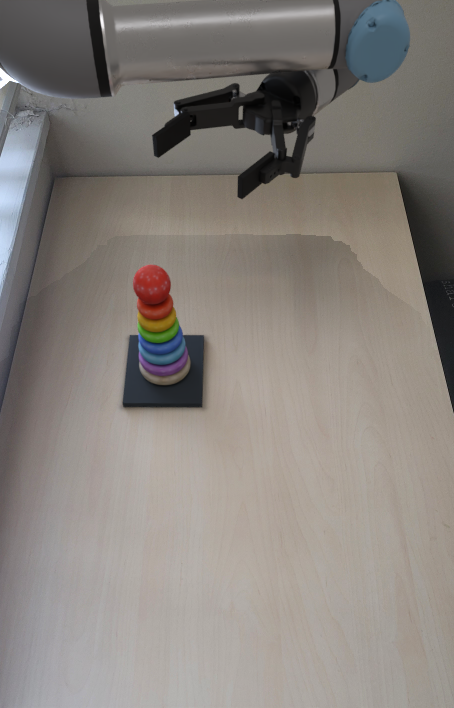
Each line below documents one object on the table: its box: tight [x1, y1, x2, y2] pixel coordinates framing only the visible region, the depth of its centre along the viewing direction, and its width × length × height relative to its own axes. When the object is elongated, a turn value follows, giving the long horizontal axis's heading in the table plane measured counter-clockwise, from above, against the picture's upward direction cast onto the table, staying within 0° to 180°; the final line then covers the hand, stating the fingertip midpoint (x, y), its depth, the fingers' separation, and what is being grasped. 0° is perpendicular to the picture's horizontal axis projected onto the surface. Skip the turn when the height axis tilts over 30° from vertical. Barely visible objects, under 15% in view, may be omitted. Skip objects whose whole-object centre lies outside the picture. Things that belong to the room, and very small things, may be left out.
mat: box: [122, 334, 205, 408], centre depth 100 cm, size 12×14×1 cm
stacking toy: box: [132, 264, 191, 385], centre depth 92 cm, size 8×8×19 cm
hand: (196, 167), depth 79 cm, fingers open, 13 cm apart
